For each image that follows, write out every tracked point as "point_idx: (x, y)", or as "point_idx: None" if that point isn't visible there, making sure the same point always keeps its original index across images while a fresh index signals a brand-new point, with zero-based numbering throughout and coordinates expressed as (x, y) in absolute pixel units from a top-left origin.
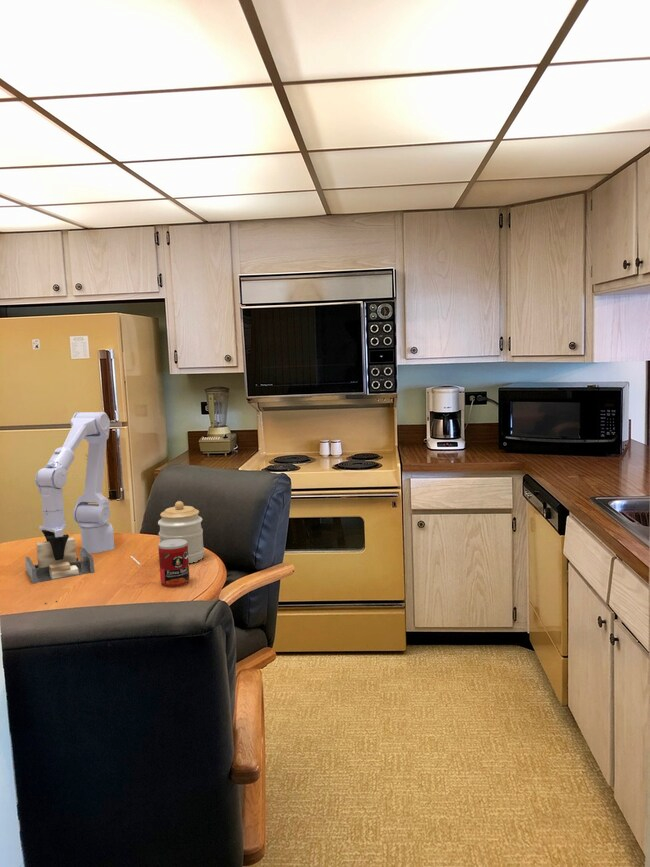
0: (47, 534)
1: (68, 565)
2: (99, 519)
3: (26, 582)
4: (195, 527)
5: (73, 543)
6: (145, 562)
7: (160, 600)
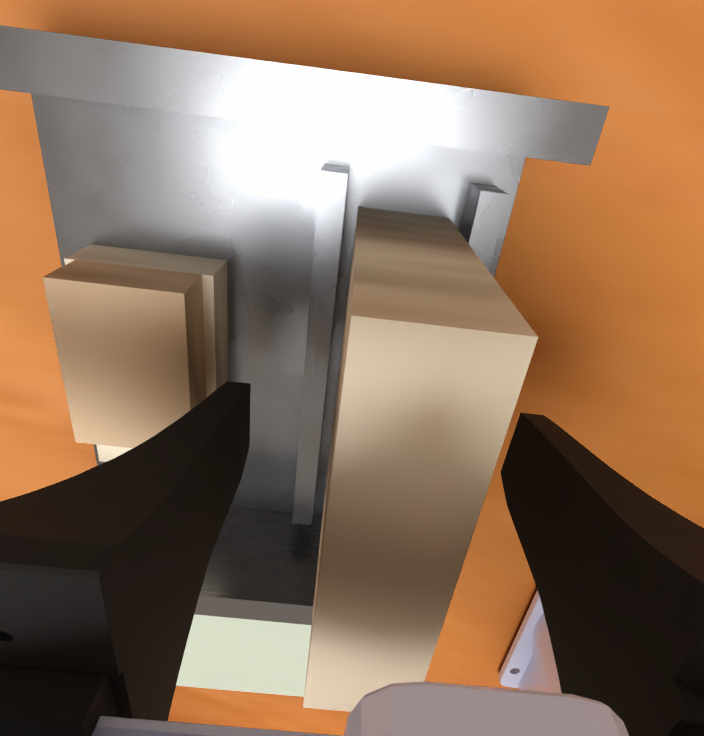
0: (654, 606)
1: (74, 426)
2: None
3: (251, 24)
4: None
5: (309, 647)
6: (213, 699)
7: None
